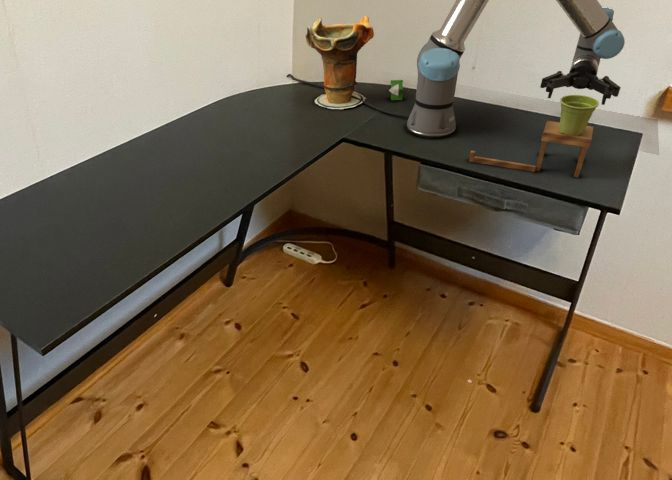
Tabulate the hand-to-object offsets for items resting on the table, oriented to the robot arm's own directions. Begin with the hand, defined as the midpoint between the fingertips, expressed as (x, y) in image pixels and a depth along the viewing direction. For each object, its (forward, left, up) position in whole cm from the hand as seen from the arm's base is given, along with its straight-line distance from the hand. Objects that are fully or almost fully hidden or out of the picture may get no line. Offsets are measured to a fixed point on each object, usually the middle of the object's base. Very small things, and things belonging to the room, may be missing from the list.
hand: (576, 96), depth 163 cm
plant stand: (-8, -6, -18) cm, 20 cm away
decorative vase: (-76, +19, -18) cm, 81 cm away
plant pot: (+1, -6, -8) cm, 10 cm away
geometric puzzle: (-57, +28, -18) cm, 66 cm away
